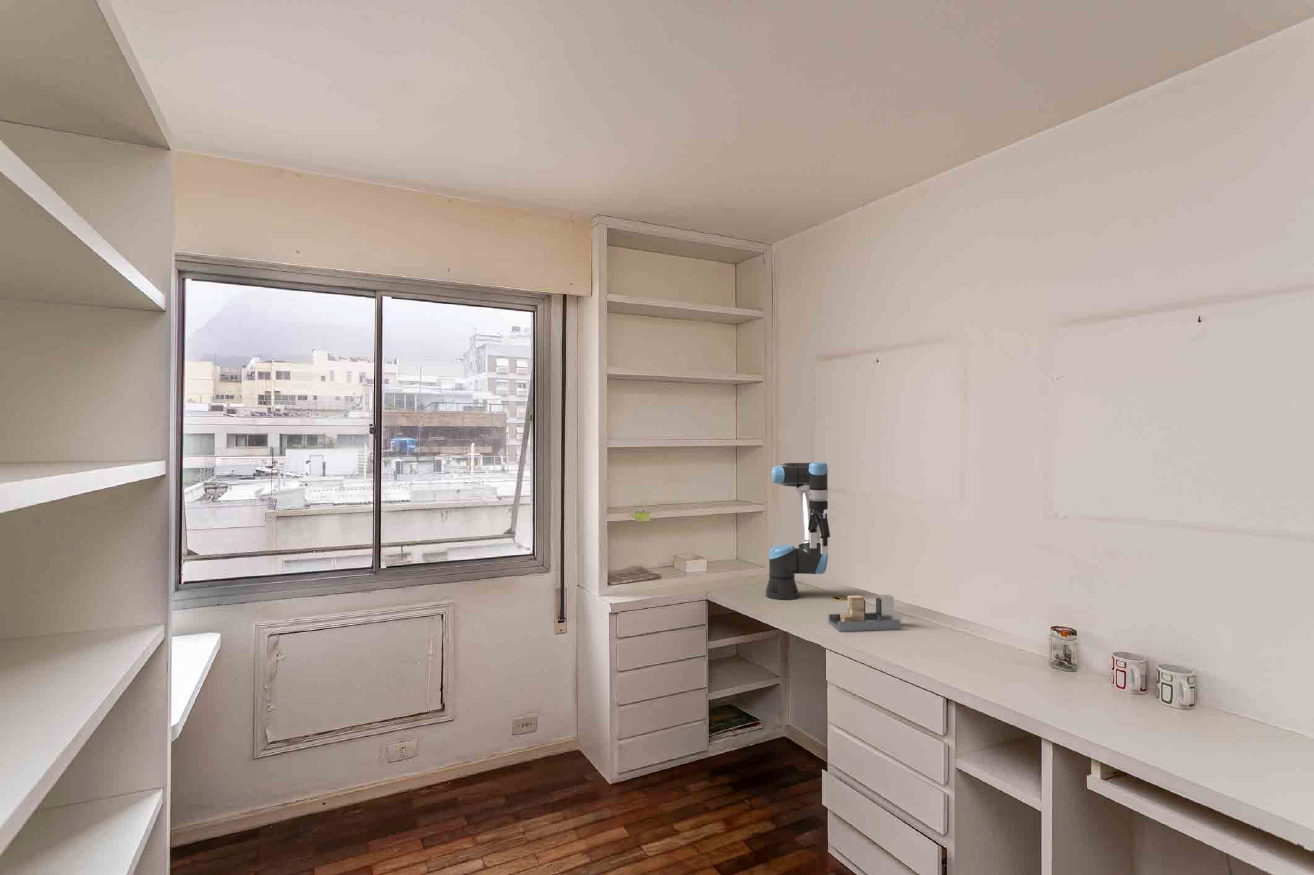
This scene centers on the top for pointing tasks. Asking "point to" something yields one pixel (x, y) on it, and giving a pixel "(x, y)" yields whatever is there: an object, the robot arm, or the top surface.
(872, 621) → the grey tray with panel
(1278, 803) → the top surface
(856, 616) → the wooden stepped block
